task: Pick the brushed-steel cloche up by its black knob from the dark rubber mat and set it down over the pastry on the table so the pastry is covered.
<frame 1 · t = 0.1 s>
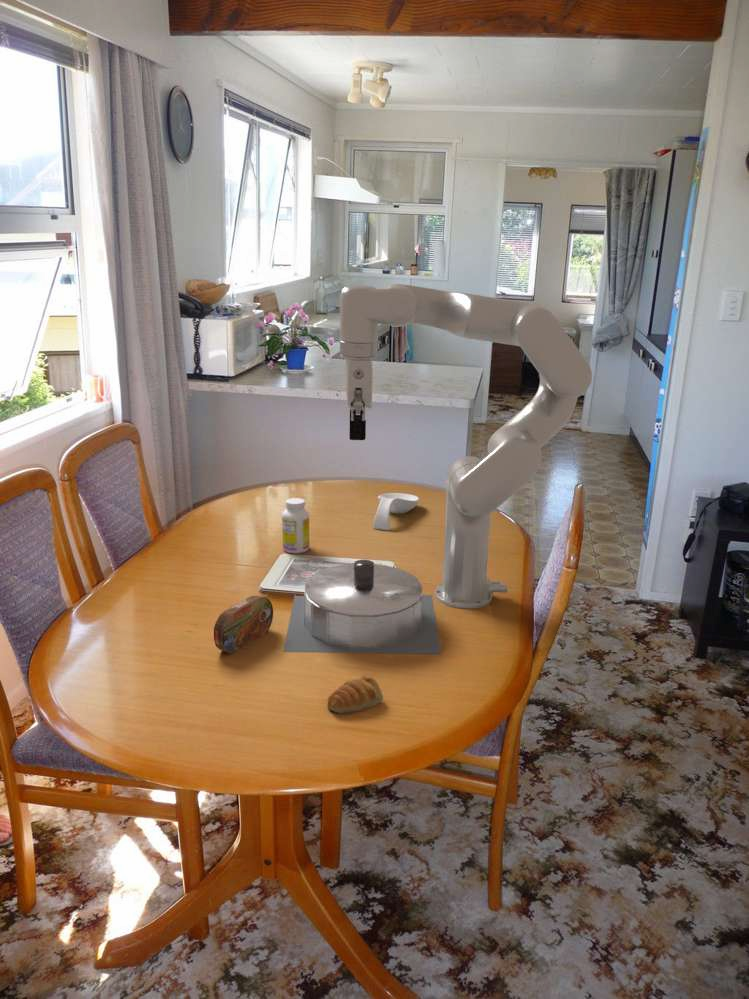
hand: (357, 433, 168), 37 cm above the table, tool pointing down, fingers open, 9 cm apart
rubber mat: (362, 622, 167), on the table
cloche: (362, 621, 167), resting on rubber mat
supplement bottle: (296, 550, 204), on the table
spoon rest: (393, 517, 229), on the table
tin: (244, 643, 159), on the table
pastry: (356, 704, 140), on the table
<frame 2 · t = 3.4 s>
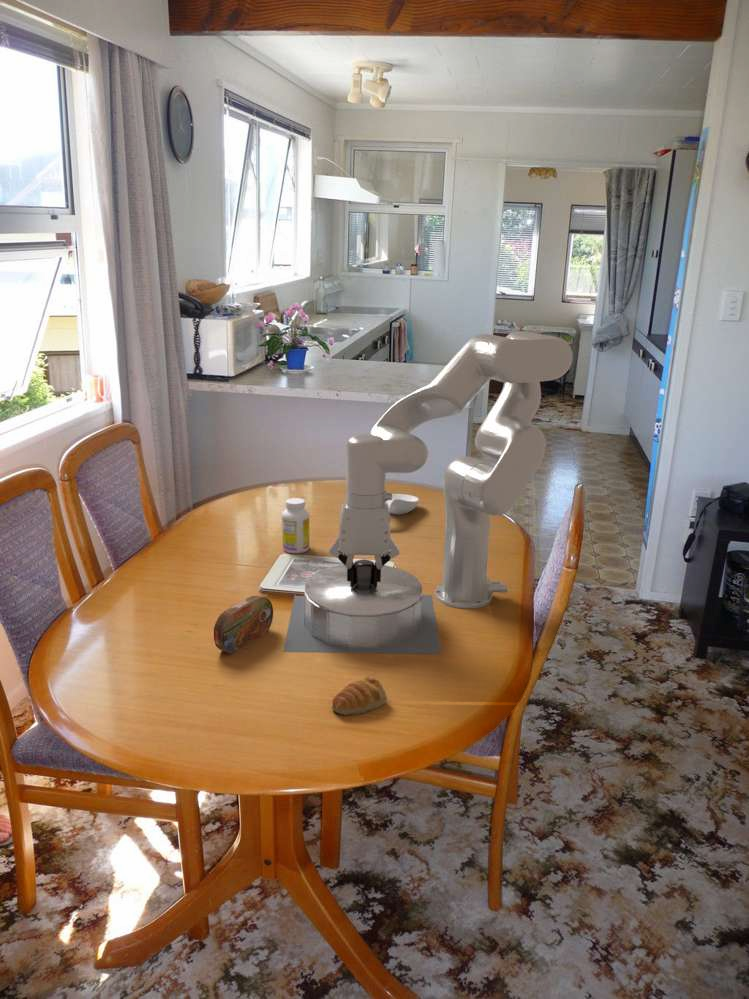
hand: (363, 583, 165), 9 cm above the table, tool pointing down, fingers closed on cloche, 4 cm apart
cloche: (362, 621, 167), resting on rubber mat, touching gripper
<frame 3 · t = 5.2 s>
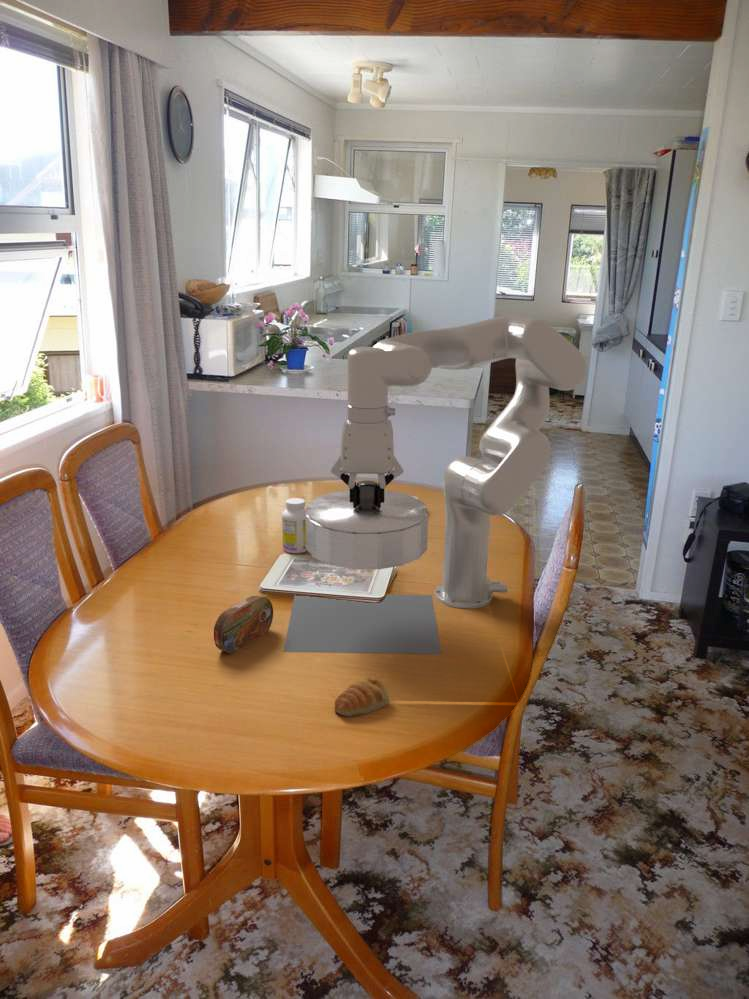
hand: (366, 504, 159), 26 cm above the table, tool pointing down, fingers closed on cloche, 4 cm apart
cloche: (366, 544, 162), point 17 cm above the table, touching gripper
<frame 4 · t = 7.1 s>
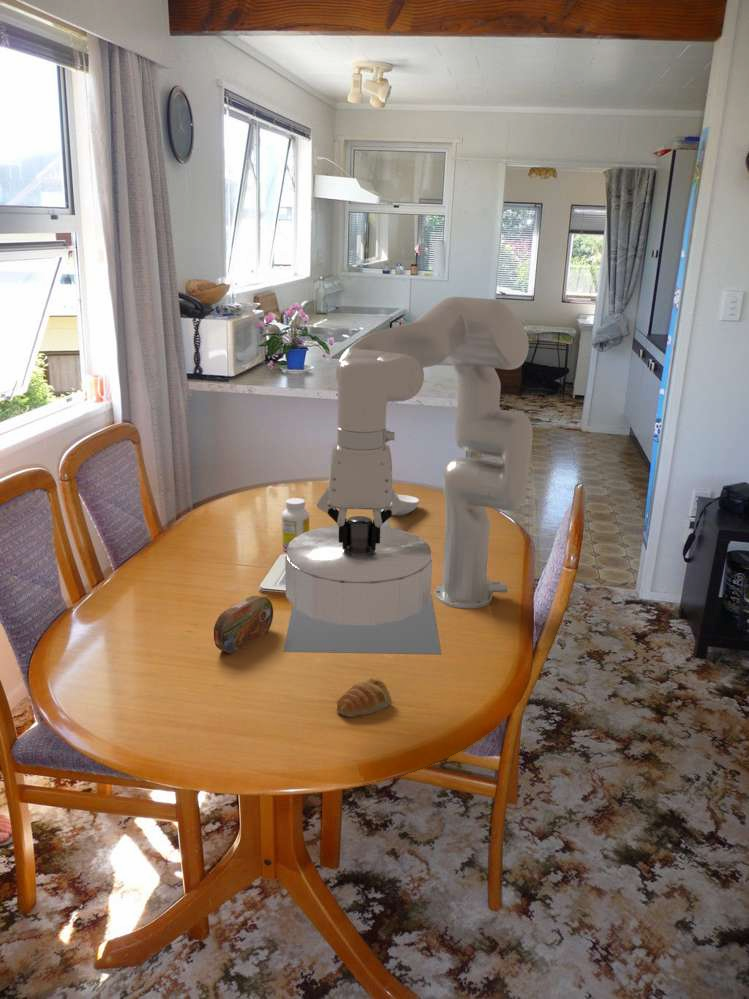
hand: (359, 545, 134), 28 cm above the table, tool pointing down, fingers closed on cloche, 4 cm apart
cloche: (358, 592, 136), point 19 cm above the table, touching gripper
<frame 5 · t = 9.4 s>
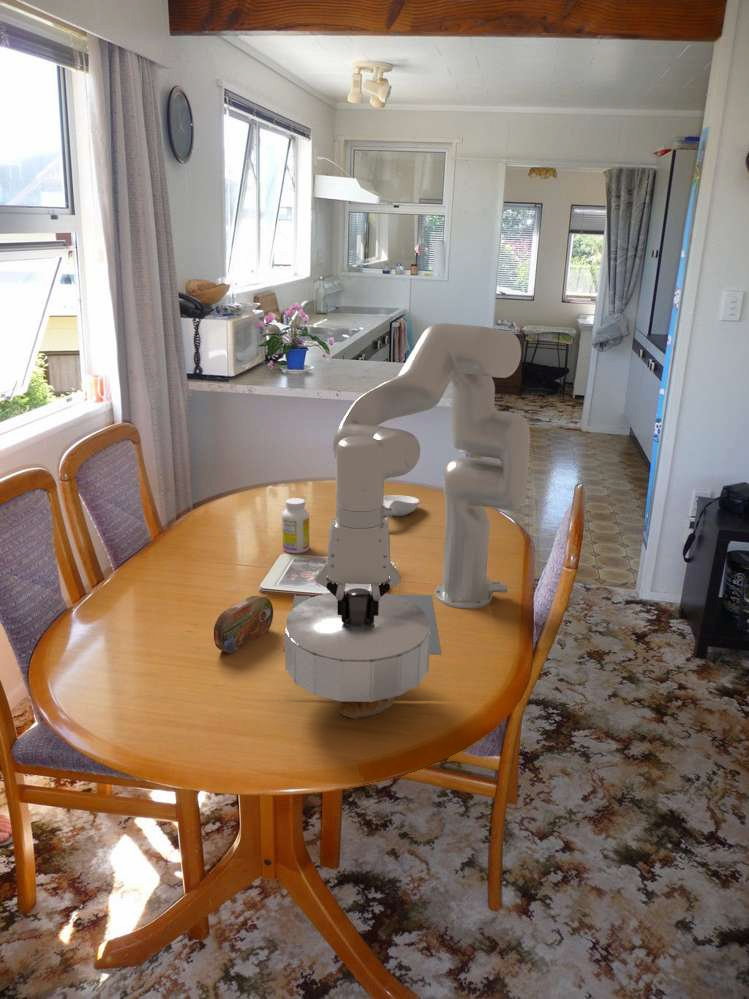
hand: (357, 617, 135), 16 cm above the table, tool pointing down, fingers closed on cloche, 4 cm apart
cloche: (357, 662, 138), point 7 cm above the table, touching gripper
when the fingers open (9 cm above the table, at t = 11.1 s): cloche stays where it is, on the table.
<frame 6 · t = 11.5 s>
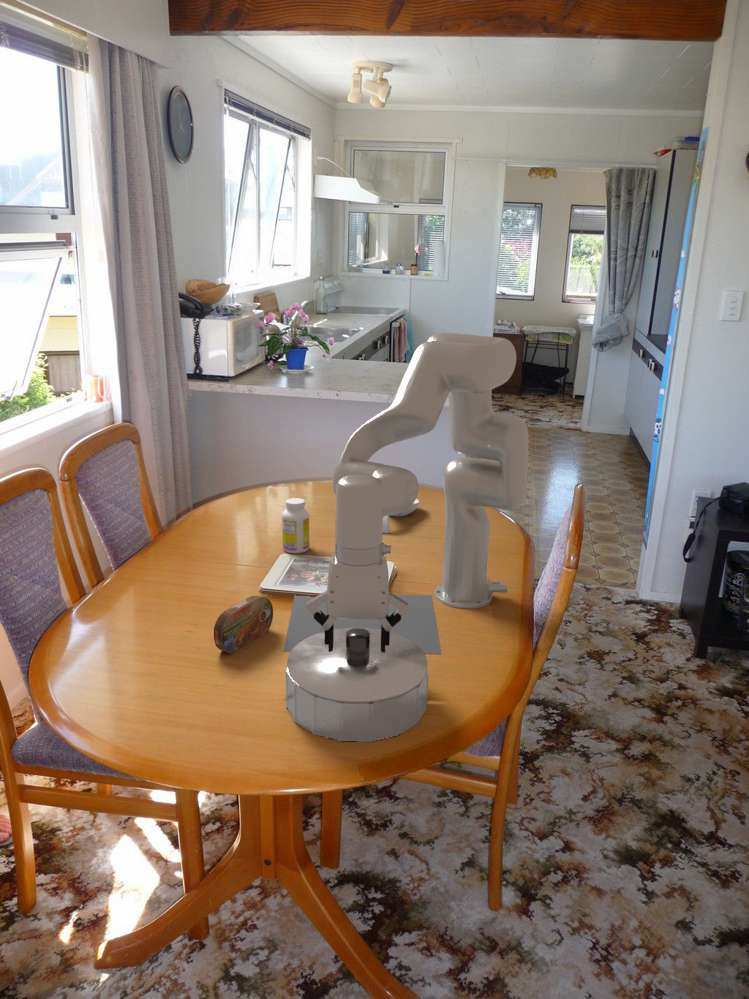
hand: (356, 647, 137), 10 cm above the table, tool pointing down, fingers open, 8 cm apart
cloche: (356, 700, 140), on the table
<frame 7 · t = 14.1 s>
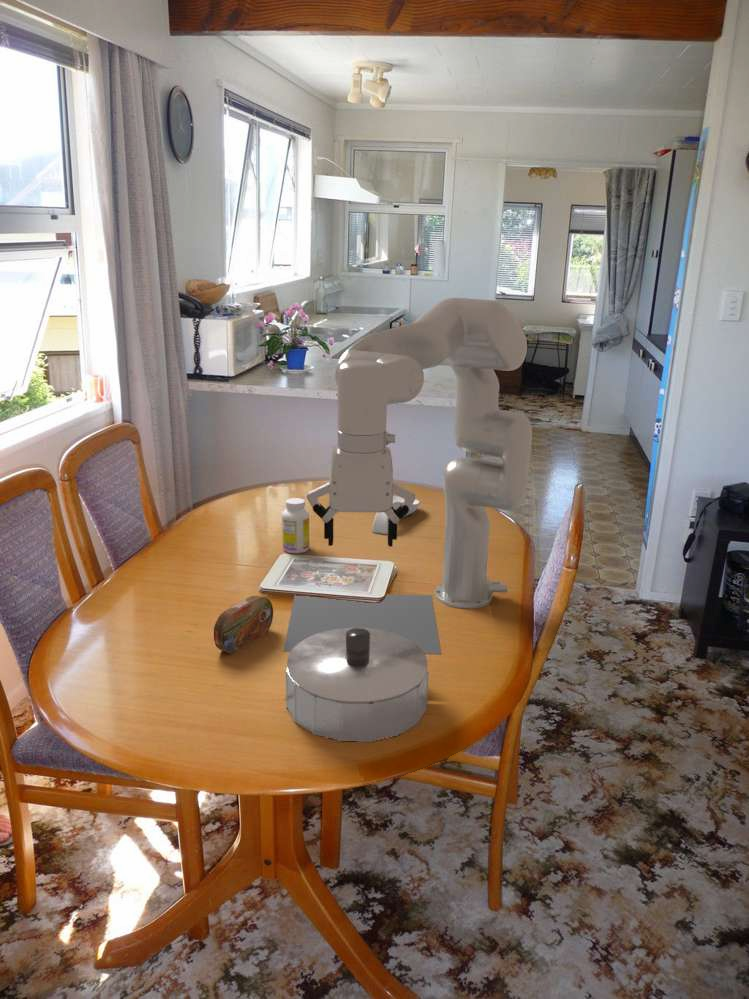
hand: (360, 543, 133), 28 cm above the table, tool pointing down, fingers open, 9 cm apart
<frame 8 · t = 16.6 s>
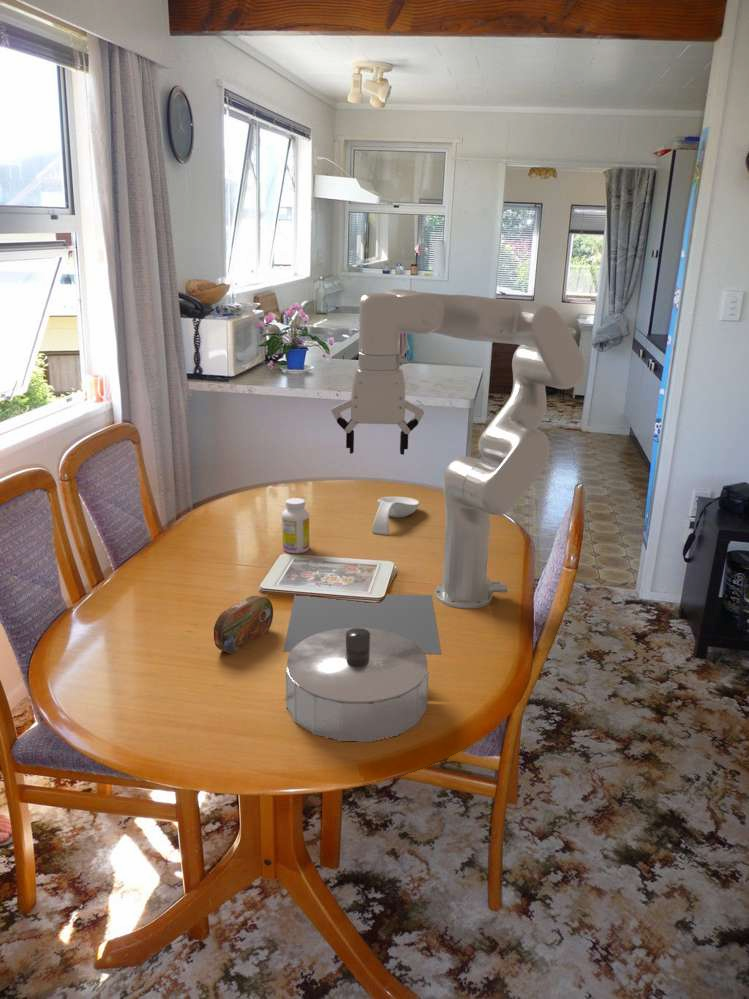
hand: (376, 452, 156), 36 cm above the table, tool pointing down, fingers open, 9 cm apart
at the end: cloche 4.4 cm from the pastry (horizontally); cloche on the table; pastry moved 4.5 cm from its start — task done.
